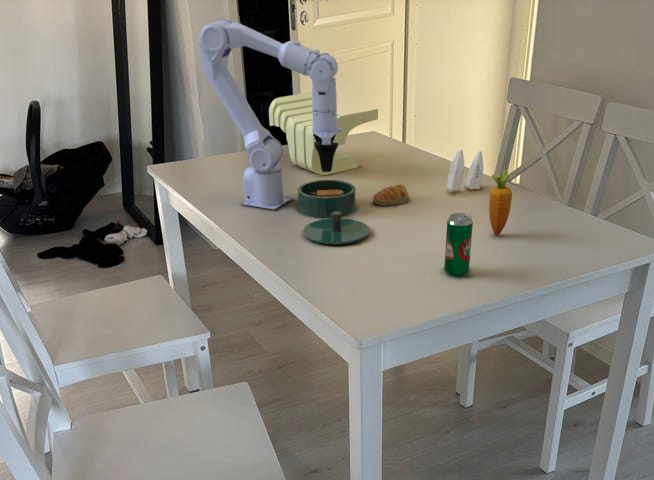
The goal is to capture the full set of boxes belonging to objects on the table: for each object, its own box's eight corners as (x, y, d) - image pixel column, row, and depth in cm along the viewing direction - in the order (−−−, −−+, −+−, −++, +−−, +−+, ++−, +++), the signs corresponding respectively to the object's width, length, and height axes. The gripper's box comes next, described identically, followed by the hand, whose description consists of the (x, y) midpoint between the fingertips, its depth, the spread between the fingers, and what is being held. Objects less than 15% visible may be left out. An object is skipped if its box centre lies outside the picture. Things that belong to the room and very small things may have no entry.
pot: (340, 221, 178) (339, 201, 176) (288, 212, 183) (287, 193, 181) (364, 203, 189) (364, 184, 187) (315, 195, 194) (314, 177, 192)
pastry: (383, 209, 185) (383, 194, 183) (366, 202, 190) (366, 188, 188) (411, 201, 190) (411, 186, 188) (394, 195, 195) (394, 180, 193)
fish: (312, 209, 184) (311, 195, 182) (311, 204, 187) (310, 190, 185) (344, 207, 185) (343, 193, 183) (342, 203, 188) (342, 189, 186)
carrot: (494, 241, 166) (500, 175, 159) (481, 234, 170) (486, 169, 162) (512, 237, 168) (519, 172, 161) (498, 230, 172) (505, 166, 164)
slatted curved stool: (272, 160, 222) (268, 99, 213) (314, 151, 231) (312, 91, 222) (332, 184, 202) (331, 117, 193) (377, 173, 211) (378, 108, 202)
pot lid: (352, 251, 162) (352, 229, 160) (291, 240, 168) (290, 218, 165) (379, 228, 174) (380, 207, 171) (322, 218, 180) (321, 198, 177)
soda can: (441, 267, 154) (445, 212, 148) (465, 266, 155) (470, 211, 148) (446, 278, 150) (450, 221, 144) (471, 277, 150) (475, 220, 144)
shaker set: (450, 196, 193) (453, 154, 187) (440, 192, 196) (443, 150, 190) (485, 188, 198) (489, 147, 193) (475, 184, 201) (478, 143, 196)
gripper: (343, 116, 169) (344, 175, 176) (339, 102, 182) (340, 158, 189) (312, 117, 169) (314, 176, 176) (310, 103, 181) (312, 158, 188)
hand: (325, 166), depth 182 cm, fingers open, 7 cm apart
